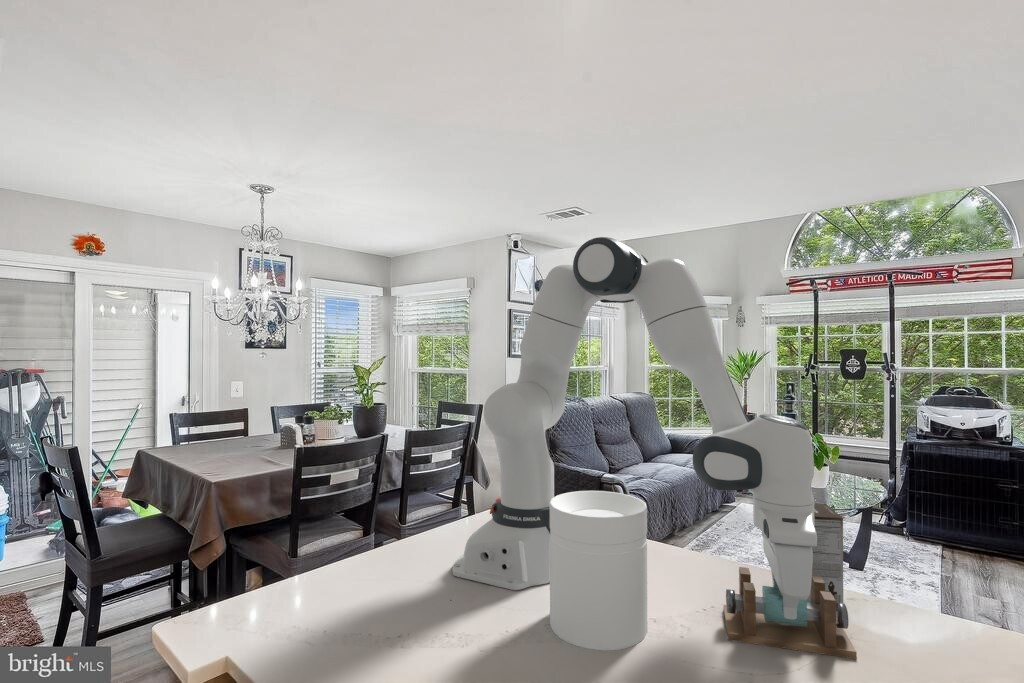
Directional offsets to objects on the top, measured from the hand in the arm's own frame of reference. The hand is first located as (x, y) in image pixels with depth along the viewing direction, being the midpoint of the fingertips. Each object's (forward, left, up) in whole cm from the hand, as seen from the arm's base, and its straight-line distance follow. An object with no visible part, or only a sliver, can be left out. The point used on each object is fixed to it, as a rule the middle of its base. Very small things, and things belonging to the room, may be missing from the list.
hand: (783, 603), depth 87 cm
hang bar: (0, 0, -3) cm, 3 cm away
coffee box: (+8, +16, -5) cm, 19 cm away
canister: (-29, -6, -5) cm, 30 cm away
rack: (0, 0, -5) cm, 5 cm away
